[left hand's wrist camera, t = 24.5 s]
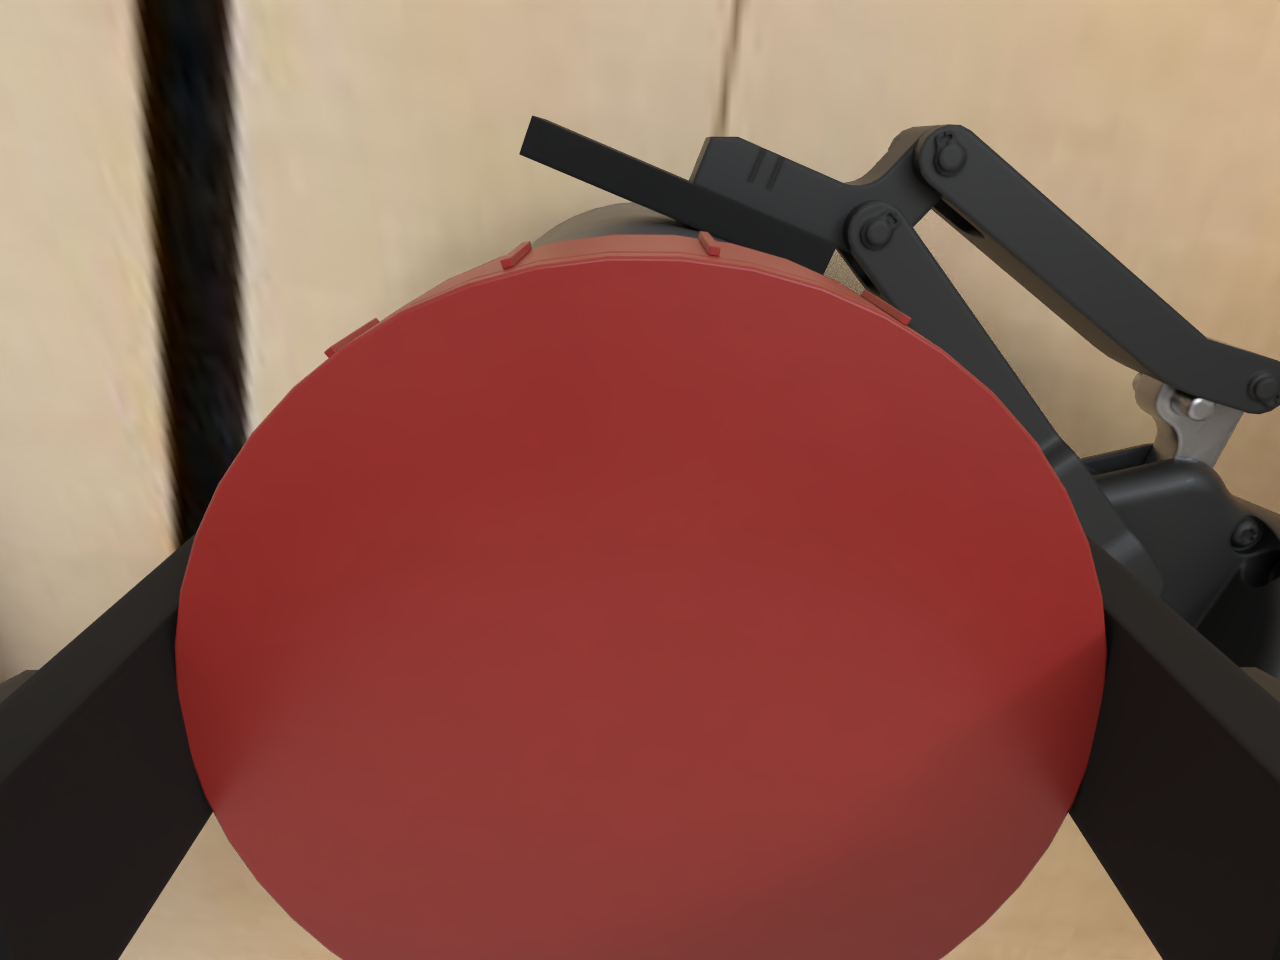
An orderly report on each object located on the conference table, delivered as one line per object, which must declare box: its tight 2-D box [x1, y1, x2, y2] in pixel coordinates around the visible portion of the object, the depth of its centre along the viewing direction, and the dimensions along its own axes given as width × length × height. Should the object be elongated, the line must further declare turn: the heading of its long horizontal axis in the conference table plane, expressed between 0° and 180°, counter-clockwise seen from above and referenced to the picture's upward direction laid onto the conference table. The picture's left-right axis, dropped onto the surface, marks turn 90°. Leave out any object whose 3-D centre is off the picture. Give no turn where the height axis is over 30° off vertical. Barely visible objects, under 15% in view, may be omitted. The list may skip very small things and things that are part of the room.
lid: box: [175, 231, 1107, 960], centre depth 11 cm, size 10×10×2 cm
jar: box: [531, 203, 729, 248], centre depth 19 cm, size 9×9×16 cm
